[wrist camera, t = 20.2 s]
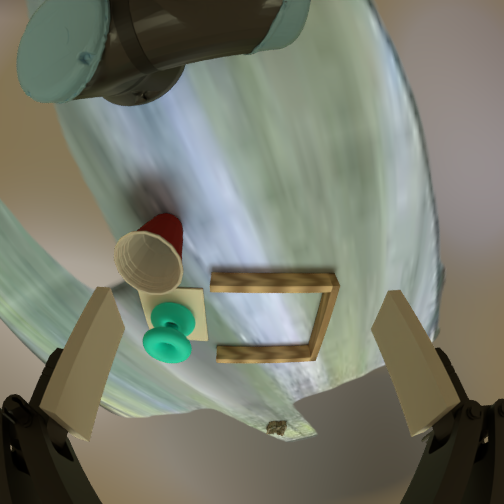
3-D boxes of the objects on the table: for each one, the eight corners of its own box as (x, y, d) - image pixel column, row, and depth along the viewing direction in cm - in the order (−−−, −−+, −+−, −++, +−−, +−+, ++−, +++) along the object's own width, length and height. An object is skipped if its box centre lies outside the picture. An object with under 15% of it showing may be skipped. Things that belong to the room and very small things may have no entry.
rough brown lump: (281, 428, 97) (282, 436, 94) (264, 428, 97) (265, 436, 93) (288, 420, 92) (289, 428, 88) (269, 420, 91) (270, 429, 87)
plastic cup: (136, 196, 42) (106, 229, 32) (197, 201, 43) (183, 237, 33) (139, 250, 48) (117, 291, 38) (194, 256, 49) (183, 301, 39)
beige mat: (152, 335, 61) (152, 337, 61) (137, 285, 52) (136, 286, 52) (208, 339, 62) (208, 340, 61) (202, 288, 53) (202, 289, 53)
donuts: (131, 346, 47) (162, 328, 44) (143, 311, 56) (172, 292, 53) (168, 370, 52) (201, 356, 49) (175, 336, 60) (205, 319, 57)
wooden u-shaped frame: (217, 349, 64) (216, 362, 60) (211, 272, 51) (209, 285, 48) (312, 348, 65) (315, 360, 62) (334, 273, 52) (340, 285, 49)
